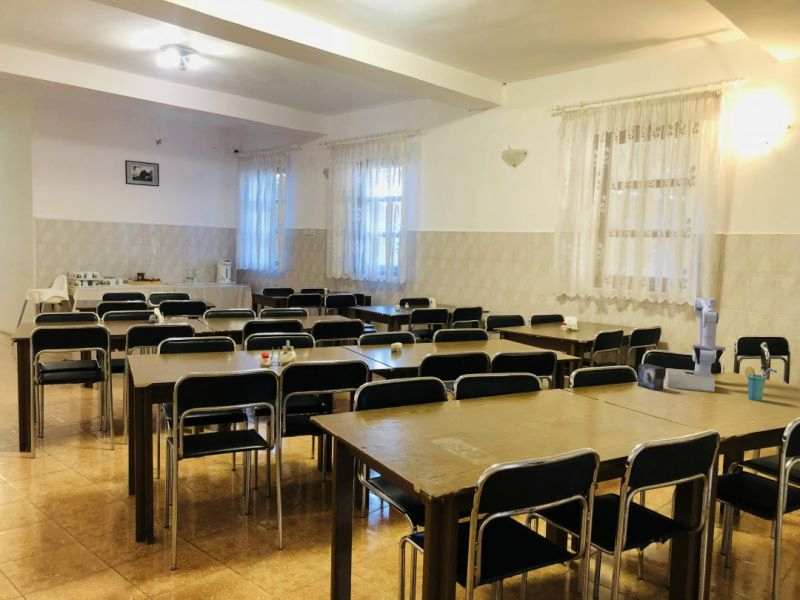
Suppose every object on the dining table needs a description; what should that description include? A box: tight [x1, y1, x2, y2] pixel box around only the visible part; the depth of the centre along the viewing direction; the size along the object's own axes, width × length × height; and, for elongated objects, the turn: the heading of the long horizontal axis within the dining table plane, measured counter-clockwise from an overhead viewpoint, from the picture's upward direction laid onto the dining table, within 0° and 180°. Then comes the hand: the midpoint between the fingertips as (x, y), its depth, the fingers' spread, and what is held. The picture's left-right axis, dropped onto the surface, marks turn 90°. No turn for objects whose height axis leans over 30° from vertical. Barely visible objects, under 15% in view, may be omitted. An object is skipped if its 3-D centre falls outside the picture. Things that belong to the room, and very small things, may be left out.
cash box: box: [664, 367, 716, 393], centre depth 298 cm, size 16×20×6 cm
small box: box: [636, 363, 666, 391], centre depth 292 cm, size 11×6×10 cm, turn 25°
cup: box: [744, 366, 778, 402], centre depth 273 cm, size 14×8×15 cm, turn 34°
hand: (707, 364), depth 300 cm, fingers open, 7 cm apart
